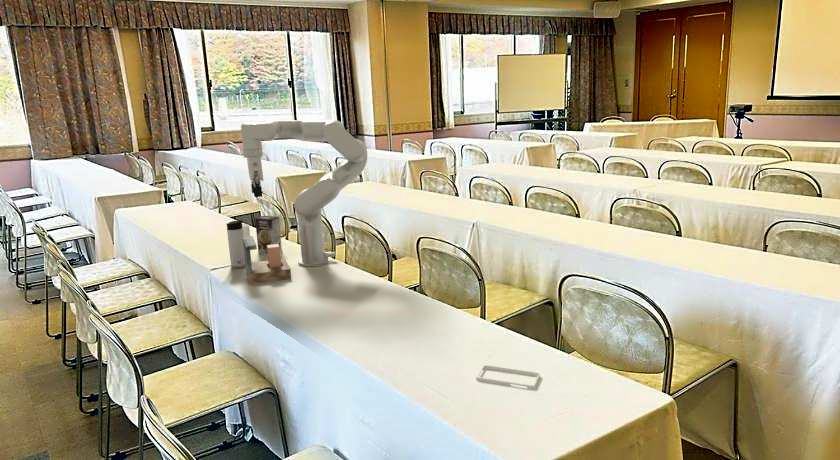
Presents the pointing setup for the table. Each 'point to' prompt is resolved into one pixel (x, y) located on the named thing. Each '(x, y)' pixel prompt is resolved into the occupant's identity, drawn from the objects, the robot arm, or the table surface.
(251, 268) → the socket block
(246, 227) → the drinking glass
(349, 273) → the table surface
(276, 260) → the peg
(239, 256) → the travel mug
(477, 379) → the rectangular ring
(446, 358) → the table surface
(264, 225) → the coffee box
